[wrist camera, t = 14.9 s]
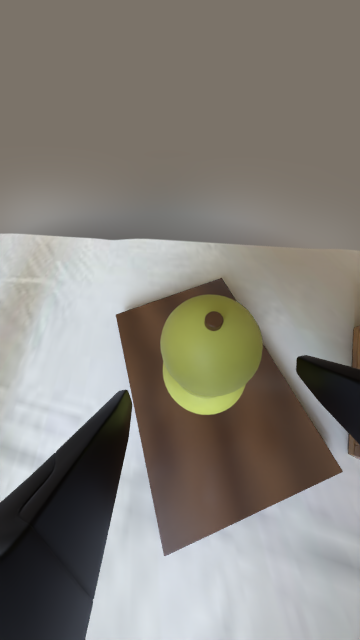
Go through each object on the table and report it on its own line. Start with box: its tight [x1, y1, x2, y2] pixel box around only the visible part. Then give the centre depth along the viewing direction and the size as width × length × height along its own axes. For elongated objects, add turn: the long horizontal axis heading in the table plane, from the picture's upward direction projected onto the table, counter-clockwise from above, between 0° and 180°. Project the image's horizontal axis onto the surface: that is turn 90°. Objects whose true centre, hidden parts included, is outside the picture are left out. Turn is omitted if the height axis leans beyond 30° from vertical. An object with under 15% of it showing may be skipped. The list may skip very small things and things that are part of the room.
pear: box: [160, 294, 263, 415], centre depth 11 cm, size 6×6×12 cm
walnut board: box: [116, 278, 343, 556], centre depth 17 cm, size 14×20×2 cm
